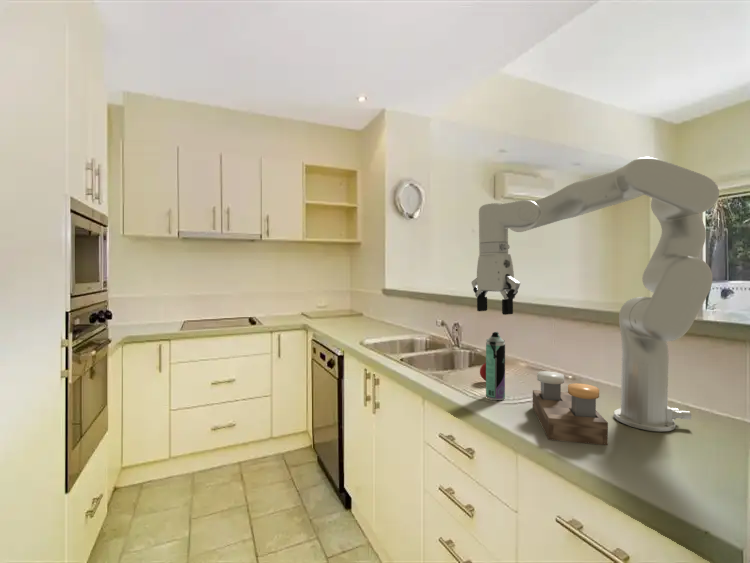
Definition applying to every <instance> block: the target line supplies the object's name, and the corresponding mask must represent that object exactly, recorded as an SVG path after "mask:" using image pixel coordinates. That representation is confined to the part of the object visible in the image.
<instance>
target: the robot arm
mask: <svg viewBox="0 0 750 563" xmlns="http://www.w3.org/2000/svg"><path fill="white" fill-rule="evenodd" d="M641 196H647V197H649V198H651V201H650V209H651V212H652V213H653V215H654V216H655V217H656V219H657V220H658V222H659V224H660V226H661V234H660V238H659V239H658V243H657V245H656V247H655V248H654V252H652V253H653V254H652V256H651V258H650V260H649V261H648V263H647V265H646V267H645V269H644V271H643V274H642V284H643V286H644V288H646V289H647V291H650V292H651V293H652V296H651V297H650V296H637V297H632V298H630V299H628V300H627V301H625V302H624V303H623V304H622V306H621V307H620V310H619V314H618V323H619V330H620V336H621V377H620V378H621V380H620V381H621V384H620V385H621V386H620V388H621V389H620V390H621V391H620V393H621V394H620V395H621V396H620V397H621V398H620V407H619V408H617V409H615V410H614V411H613V417H614V419H616V420H617V421H618V422H620V423H622V424H623V425H626V426H629V427H632V428H635V429H639V430H645V431H650V432H661V433H662V432H670V431H673V430H675V429H676V421H674V420H677V419H680V420H692V413H691V411H689V410H688V411H686V410H680V409H679V408H676V407H670V406H669V405H668V402H669V401H668V400H669V399H668V397H669V393H668V392H669V360H670V358H669V355H670V354H669V346H668V342H672V341H673V342H674V341H675V340H679V339H680V338H682V337H684V335H685V334H687V332H688V331H689V330H690V329H691V327H692V325H693V324H694V321H695V320H696V318H697V316H698V314H699V312H700V311H701V309H702V307H703V304H704V302H705V300H706V299H707V296H709V292H710V291H711V288H712V284H713V272H712V269H711V267H710V265H709V264H708V263H707V262H706V261H704V260H703V259H701V258H699V257H700V255H701V252H702V249H703V248H704V245H705V243H706V238H707V231H706V226H705V224H704V221H703V219H702V217H701V215H700V214H701V213H705V212H707V211H708V210H710V209H712V208H713V207H714V206H715V205H716V203H717V202H718V200H719V197H720V189H719V186H718V185H717V183H716V182H715V181H714V180H713V179H712V178H710V177H708V176H707V175H705V174H702V173H699V172H696V171H693V170H690V169H688V168H685V167H682V166H679V165H677V164H674V163H671V162H668V161H665V160H663V159H659V158H654V157H650V156H644V157H638V158H635V159H633V160H631V161H630V162H628V163H627V164H625V165H624V166H622V167H619V168H615V169H612V170H610V171H609V170H608V171H607V172H603V173H601V174H597V175H595V176H591V177H589V178H584V179H581V180H578V181H576V182H575V181H574V182H573V183H571V184H569V185H566V186H565V187H563V188H561V189H559V190H558V191H556V192H554V193H552V194H550V195H547V196H545V197H542V198H539V199H536V200H534V201H533V200H531V199H530V200H529V199H521V200H517V201H516V200H515V201H512V202H511V201H510V202H506V203H498V202H495V203H493V202H491V203H486V204H482V205H481V206H480V207H479V209H478V245H479V246H478V249H479V250H478V254H479V255H478V259H477V265H476V266H477V267H476V278H475V279H473V280H472V281H471V286H472V288H473V293H475V295H474V296H475V297H476V311H477V312H487V311H488V297H487V296H486V295H487V294H488V292H494V293H495V292H499V293H500V294H501V296H502V300H501V314H502V315H504V316H507V315H513V314H514V300H515V298H516V296H517V294H518V290H519V288H520V285H521V282H520V281H518V280H517V279H515V276H514V275H515V274H514V265H513V259H512V256H511V254H509V249H510V244H509V229H510V230H511V231H513V232H516V233H523V232H527V231H530V230H534V229H537V228H540V227H543V226H547V225H550V224H553V223H557V222H559V221H563V220H568V219H571V218H575V217H579V216H582V215H585V214H588V213H591V212H594V211H599V210H601V209H605V208H607V207H611V206H615V205H618V204H621V203H626V202H628V201H632V200H634V199H637V198H639V197H641Z"/></svg>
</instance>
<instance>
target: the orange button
mask: <svg viewBox="0 0 750 563" xmlns="http://www.w3.org/2000/svg"><path fill="white" fill-rule="evenodd" d="M567 392H568V393H569V394H570V395H572V401H571V412H572V413H573V415H574V416H580V417H593V418H596V411H597V410H596V409H597V406H596V405H597V399H599V398H600V388H599V387H597V386H595V385H591V384H587V383H576V382H574V383H569V384H567Z"/></svg>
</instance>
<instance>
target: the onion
mask: <svg viewBox="0 0 750 563" xmlns="http://www.w3.org/2000/svg"><path fill="white" fill-rule="evenodd" d="M479 375H480V377H481V378H482V379H483V380H484V382H486V362H485V363H483V364H482V365H481V367H480V369H479Z"/></svg>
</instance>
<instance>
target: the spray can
mask: <svg viewBox="0 0 750 563" xmlns="http://www.w3.org/2000/svg"><path fill="white" fill-rule="evenodd" d="M485 363H486V381H485V398H486V397H487V398H489V399H492V400H503V401H505V400H506V343H505V340H504V339H503V338H502V337H501V336H500V334H499V332H498V331H494V332H492V335H490V337H489V338H487V339H486V340H485ZM487 398H486V399H487ZM489 399H488V400H489ZM504 399H505V400H504ZM492 400H491V401H492Z"/></svg>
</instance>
